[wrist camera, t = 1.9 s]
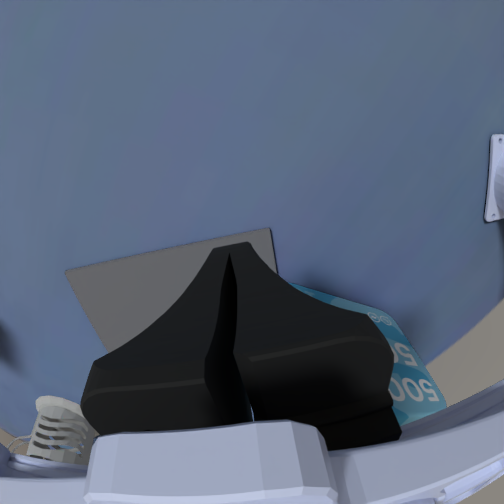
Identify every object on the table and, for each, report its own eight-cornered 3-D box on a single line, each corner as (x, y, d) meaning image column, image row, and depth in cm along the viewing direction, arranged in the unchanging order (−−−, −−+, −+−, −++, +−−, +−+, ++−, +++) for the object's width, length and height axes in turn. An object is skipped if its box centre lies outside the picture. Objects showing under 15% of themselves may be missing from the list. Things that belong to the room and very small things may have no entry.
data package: (389, 311, 27) (454, 412, 17) (362, 346, 29) (413, 448, 19) (274, 276, 24) (319, 414, 13) (249, 321, 26) (275, 456, 15)
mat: (269, 227, 22) (269, 229, 22) (293, 386, 31) (294, 388, 31) (65, 270, 22) (64, 272, 22) (146, 406, 31) (146, 408, 31)
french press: (106, 443, 36) (90, 600, 14) (32, 420, 33) (-1, 567, 11) (101, 408, 31) (75, 605, 9) (16, 382, 29) (-36, 556, 7)
